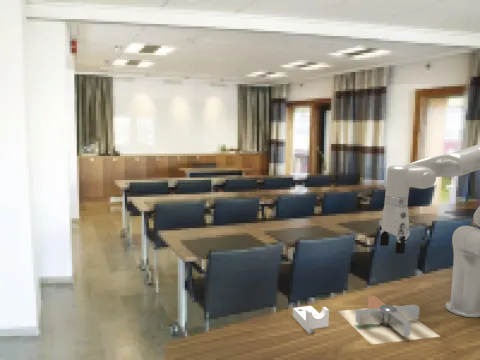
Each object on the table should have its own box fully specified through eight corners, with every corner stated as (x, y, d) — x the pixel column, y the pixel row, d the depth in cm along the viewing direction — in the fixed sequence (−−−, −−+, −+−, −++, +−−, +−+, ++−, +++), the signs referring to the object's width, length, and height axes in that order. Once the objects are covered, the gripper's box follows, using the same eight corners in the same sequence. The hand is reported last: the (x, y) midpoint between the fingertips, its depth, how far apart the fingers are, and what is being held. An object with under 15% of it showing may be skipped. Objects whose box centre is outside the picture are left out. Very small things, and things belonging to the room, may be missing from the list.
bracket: (328, 331, 142) (328, 309, 141) (308, 334, 140) (309, 312, 139) (310, 315, 154) (311, 295, 153) (292, 317, 152) (293, 297, 151)
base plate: (397, 309, 159) (397, 304, 159) (440, 340, 136) (440, 335, 135) (337, 315, 154) (337, 310, 154) (371, 348, 131) (371, 343, 130)
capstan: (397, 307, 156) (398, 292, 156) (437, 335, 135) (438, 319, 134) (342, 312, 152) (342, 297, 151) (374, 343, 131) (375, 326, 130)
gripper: (421, 206, 140) (416, 256, 143) (391, 197, 157) (387, 242, 159) (401, 206, 139) (396, 257, 141) (373, 197, 156) (369, 242, 158)
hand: (391, 249), depth 150 cm, fingers open, 9 cm apart
